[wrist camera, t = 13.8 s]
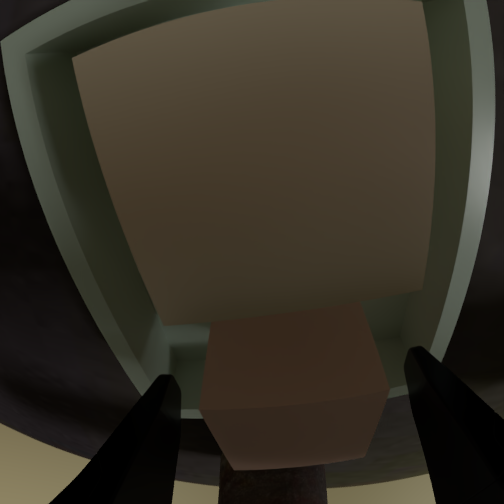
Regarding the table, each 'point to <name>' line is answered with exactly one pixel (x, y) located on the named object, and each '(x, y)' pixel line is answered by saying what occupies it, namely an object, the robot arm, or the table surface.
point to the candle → (272, 485)
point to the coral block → (293, 388)
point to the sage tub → (111, 233)
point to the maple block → (269, 154)
